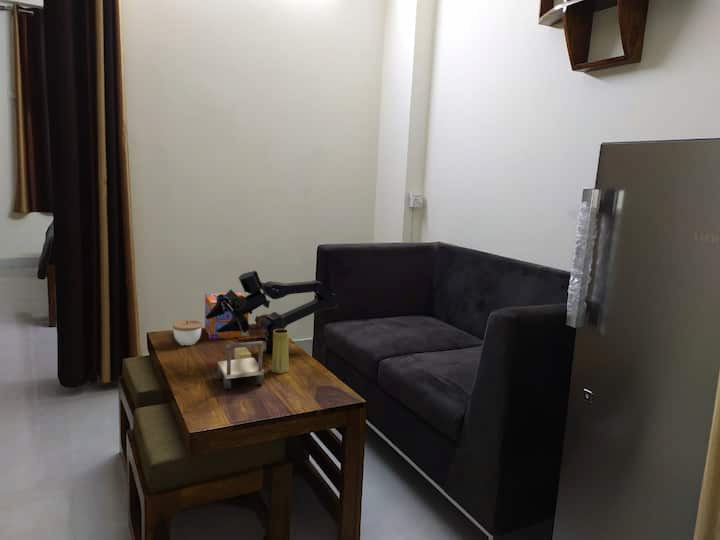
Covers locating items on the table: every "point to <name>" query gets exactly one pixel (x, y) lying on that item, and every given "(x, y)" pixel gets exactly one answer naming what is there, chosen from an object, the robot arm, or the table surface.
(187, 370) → the table surface
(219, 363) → the trolley
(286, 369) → the vase
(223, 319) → the game box
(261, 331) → the wooden carving
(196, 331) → the lidded jar
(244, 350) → the block
